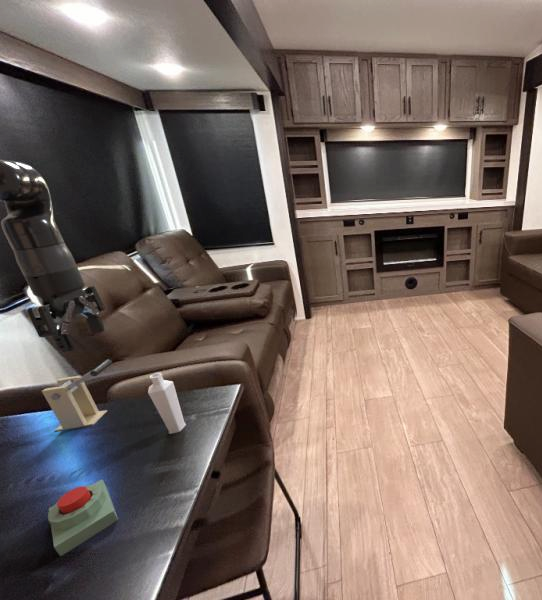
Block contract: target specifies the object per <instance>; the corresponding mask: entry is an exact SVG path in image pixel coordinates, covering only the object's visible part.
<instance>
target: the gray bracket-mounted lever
mask: <svg viewBox="0 0 542 600" xmlns="http://www.w3.org/2000/svg"><path fill="white" fill-rule="evenodd" d="M112 364H113V361H112V359H105V360H104V361H103V362H101V363H100V364H99V365H97V366H96V367H95V368H93V369H92V370H90V371H88V372H87V373H85V374H83V375H81V377H80V378H79V379H77V380H75V381H74V382H71V381H70V380H69V381H67V382H66V383H64V384H62V385H61V386H66V385H67V386H68V388H69V389H70V391H71V393H72V392H73V391H74V390H75V389H77V388H78V387H77V385H78V384H80V383H82V382H83V381H84V382H85V381H86V380H87V381H88V380H89V379H90V378H92V377H97V376H98V375H100V374H101V373H102V372H103V371H105V370H106V369H107V368H108V367H110V366H112ZM58 387H60V386H59V385H58Z"/></svg>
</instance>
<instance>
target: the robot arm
mask: <svg viewBox="0 0 542 600" xmlns="http://www.w3.org/2000/svg"><path fill="white" fill-rule="evenodd" d="M0 202H4V206H5V209H6V212H7V215H6V216H5V217H4V218H3V219H2V220H1V222H0V225H1V229H2V231H3V233H4V236H5V238H6V239H7V241H8V244H9V245H10V247H11V249H12V251H13V254H14V257H15V260H16V263H17V266H18V268H19V269H20V271H21V273H22V275H23V277H24V279H25V281H26V283H27V285H28V287H29V289H30V291H31V293H32V294H33V296H35V297H38V298H40V299H41V303H42V304H41V305H39V306H33V307H28V308H27V311H26V312H27V314H28V317H29V318H30V320H31V323H32V325H33V327H34V329H35V332H36V333H37V336H38V338H46V337H51V338H52V339H53V341H54V342H55V344H56V346H57V348H58V350H60V351H61V352H63V353H67V352H72V351H74V350H76V349H77V347H76V344H75V343H74V341H73V338H72V337H71V335H70V332H68V328H69V324H71V323H72V319H73V318H74V317H76V316H77V315H79V314H80V315H82V316H83V317H85V320H86V323H87V325H88V327H89V330H90V332H91V333H92V334H101V333H104V332H105V330H106V329H105V325H104V324H103V321H102V319H101V317H100V316H101V312H102V311H104V310H106V307H105V305H104V302H103V300H102V299H101V297H100V295H99V293H98V291H97V288H96V286H94V285H91V286H90V285H89V286H85V285H86V284H85V283H86V282H85V281H84V279H83V276H82V274H81V272H80V269H79V268H78V265H77V263H76V261H75V258H74V256H73V254H72V252H71V250H70V249H69V247H68V246H67V245H66V243H65V240H64V238H63V235H62V233H61V230H59V228H58V225H57V223H56V221H55V214H54V206H53V201H52V195H51V192H50V189H49V186H48V184H47V182H46V180H45V179H44V178H43V176H42V175H41V173H40V172H39V171H37V169H35V168H34V167H33V166H31V165H29V164H27V163H24V162H20V161H17V160H7V159H0ZM94 303H95V304H94ZM58 326H59V327H58ZM45 327H46V328H47V330H46V328H45Z"/></svg>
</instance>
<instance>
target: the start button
mask: <svg viewBox="0 0 542 600" xmlns="http://www.w3.org/2000/svg"><path fill="white" fill-rule="evenodd" d="M85 486H86V485H85ZM85 486H83V485H81V486H77V487H75V488H73V489H70V490H69V491H67V492H66V493H64V494H63V495H61V497H60V498H59V499H58V500H57V502H56V503H57V506H58V507H59V509H60V511H61V512H62V513H63V514H68V513H72V512H74V511H76V510H78V509H79V508H81V507H83V506H84V505H85V504H86V503H87V502H88V501H89V500H90V499H91V494H90V492H89V491H88V489H87V487H85Z"/></svg>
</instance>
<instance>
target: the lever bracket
mask: <svg viewBox="0 0 542 600" xmlns="http://www.w3.org/2000/svg"><path fill="white" fill-rule="evenodd" d="M80 377H82V375H75V376H67V377H61V378H58V379H57V380H56V382H57V384H58V386H53V387H47V388H44V389H43V390H41V393H42V395H43V396H44V398H45V400H46V401H47V403H48V405H49V407H50V409H51V410H52V413H54V416H55V417H56V419H57V421H58V422H59V426H57V427H56V428H55V429H54V432H61V431H65V430H72V429H78V428H85V427H88V426H94V425H95V424H96V423H97V422H98V421H99V420H100V419H101V418H103V416H104V415H105V414H106V413H107V412H108V410H107V409H104V410H99V409H98V407H97V405H96V402H95V401H94V399H93V397H92V395H91V393H90V391H89V389H88V387H87V385H86V382H85V381H83V382H82V383H80V384H78V385H77V387H78V388H77V389H75V390H74V391H73V392H72V393H71V391H70V389H69V388H68V386H67V385H66V386H61V385H62V384H64V383H66V382H67V381H69V380H70V381H71V382H74V381H75V380H77V379H79V378H80ZM59 386H60V387H59Z"/></svg>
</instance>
